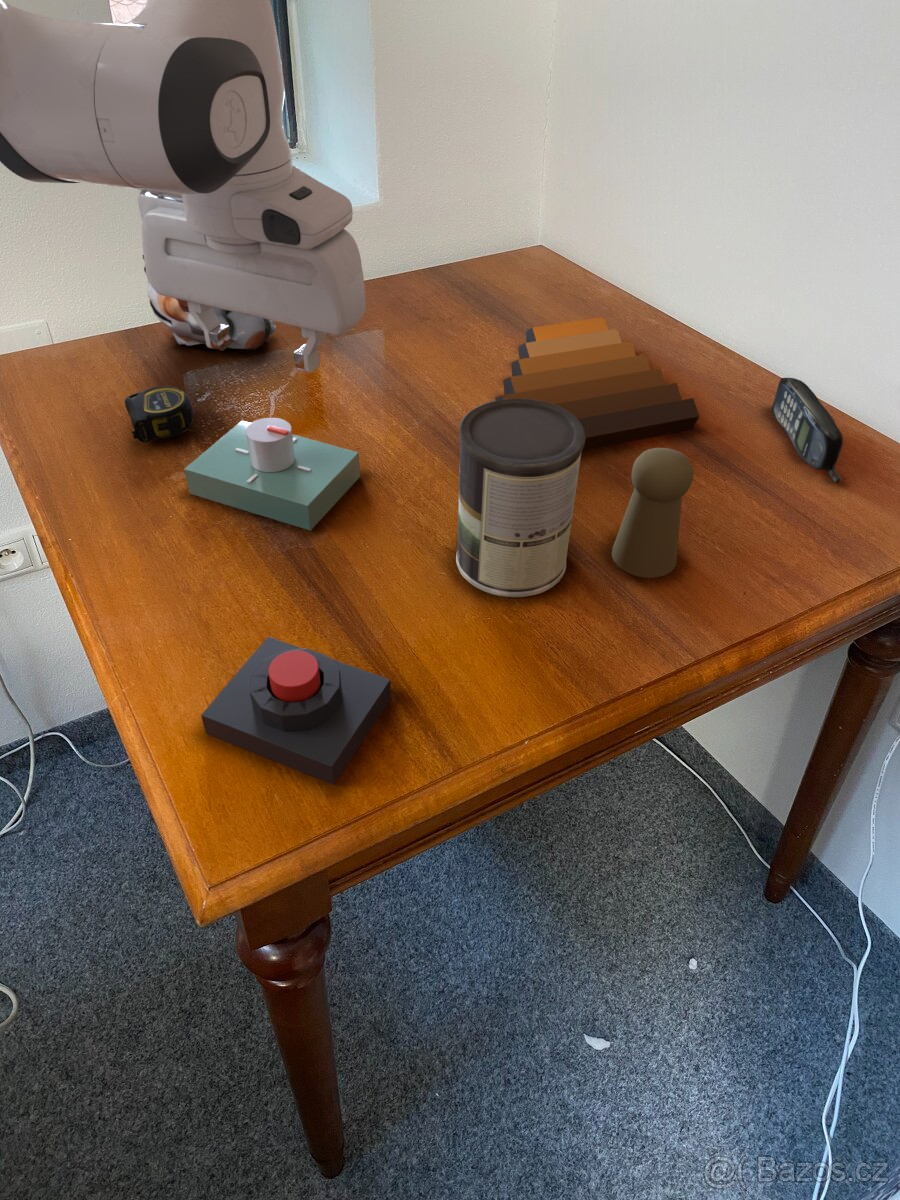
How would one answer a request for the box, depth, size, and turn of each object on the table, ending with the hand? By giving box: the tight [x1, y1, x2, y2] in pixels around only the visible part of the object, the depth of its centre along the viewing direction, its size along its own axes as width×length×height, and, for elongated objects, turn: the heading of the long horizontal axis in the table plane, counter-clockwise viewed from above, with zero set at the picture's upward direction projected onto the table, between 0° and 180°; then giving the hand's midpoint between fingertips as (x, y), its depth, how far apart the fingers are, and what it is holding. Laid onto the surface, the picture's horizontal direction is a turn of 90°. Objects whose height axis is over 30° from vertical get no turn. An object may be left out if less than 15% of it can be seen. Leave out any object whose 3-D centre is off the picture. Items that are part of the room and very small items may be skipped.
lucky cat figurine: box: [142, 254, 277, 351], centre depth 108 cm, size 15×12×14 cm
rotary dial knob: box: [245, 417, 295, 472], centre depth 86 cm, size 4×4×4 cm
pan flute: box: [494, 316, 700, 452], centre depth 102 cm, size 25×3×25 cm
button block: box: [200, 636, 392, 786], centre depth 66 cm, size 11×9×4 cm
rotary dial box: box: [183, 420, 361, 532], centre depth 88 cm, size 14×10×3 cm
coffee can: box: [455, 398, 585, 598], centre depth 76 cm, size 10×10×14 cm
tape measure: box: [124, 385, 195, 444], centre depth 95 cm, size 7×7×4 cm
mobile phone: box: [771, 377, 844, 484], centre depth 95 cm, size 5×3×15 cm
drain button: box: [268, 651, 320, 702], centre depth 64 cm, size 4×4×2 cm
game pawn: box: [610, 447, 694, 579], centre depth 78 cm, size 6×6×11 cm
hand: (263, 357), depth 79 cm, fingers open, 8 cm apart
